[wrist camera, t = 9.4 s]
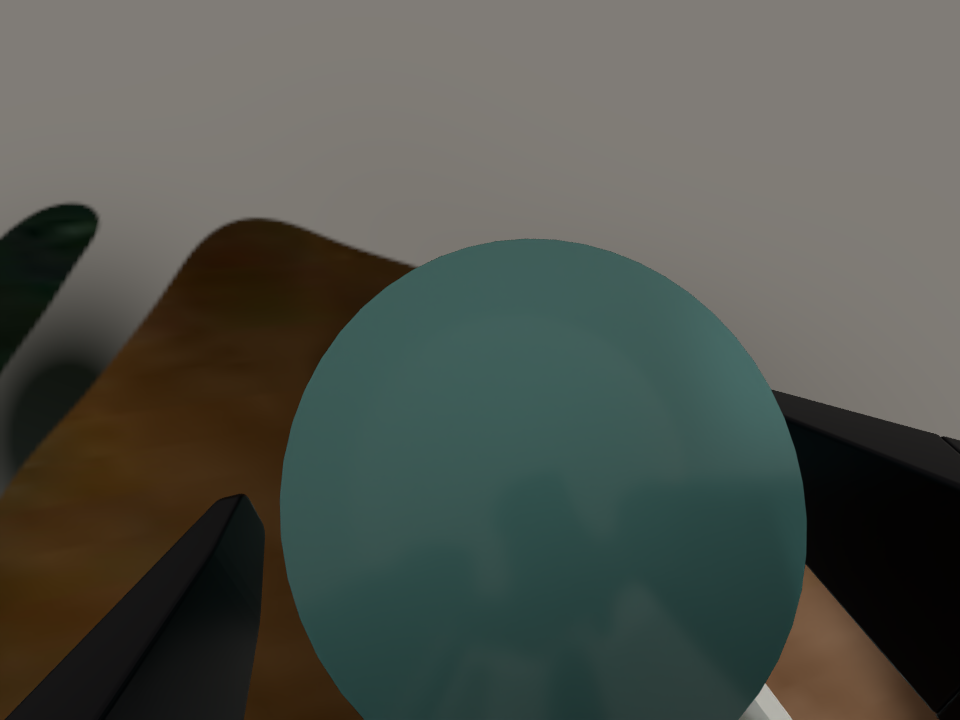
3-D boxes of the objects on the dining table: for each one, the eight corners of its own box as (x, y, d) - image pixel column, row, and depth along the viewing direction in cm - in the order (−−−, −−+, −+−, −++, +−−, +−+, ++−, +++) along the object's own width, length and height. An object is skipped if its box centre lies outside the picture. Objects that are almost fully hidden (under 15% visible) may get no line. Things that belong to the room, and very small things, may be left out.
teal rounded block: (550, 534, 17) (895, 693, 4) (410, 570, 16) (316, 909, 3) (517, 398, 18) (700, 211, 6) (386, 425, 17) (255, 276, 5)
